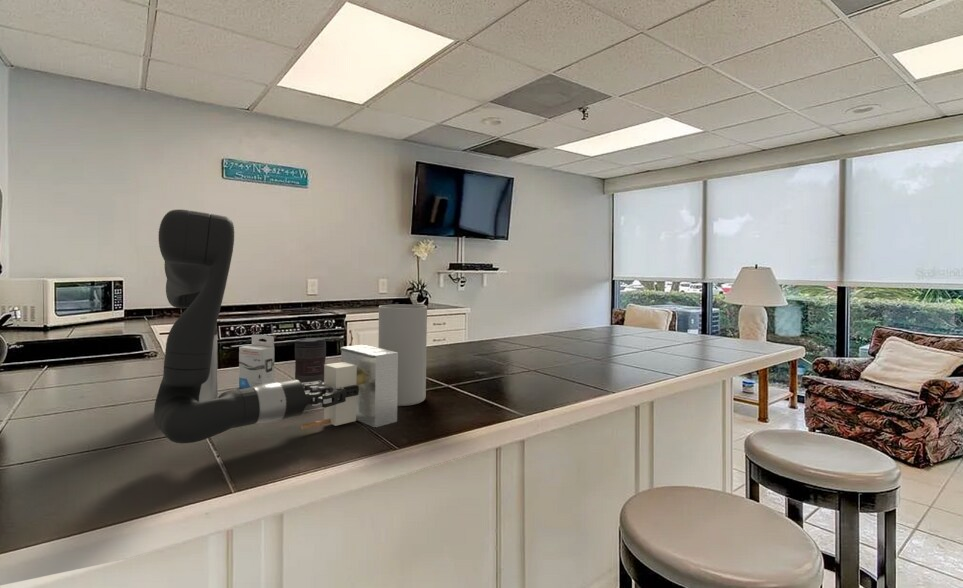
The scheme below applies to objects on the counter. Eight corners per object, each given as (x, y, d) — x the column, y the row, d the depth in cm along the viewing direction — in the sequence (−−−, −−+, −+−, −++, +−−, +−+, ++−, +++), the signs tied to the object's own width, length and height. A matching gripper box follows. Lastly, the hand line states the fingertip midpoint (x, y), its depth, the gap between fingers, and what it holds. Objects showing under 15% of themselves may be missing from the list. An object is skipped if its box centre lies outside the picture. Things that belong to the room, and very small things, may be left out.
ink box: (238, 388, 136) (237, 336, 135) (251, 384, 140) (251, 334, 139) (262, 391, 133) (261, 338, 132) (275, 387, 137) (275, 336, 137)
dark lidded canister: (330, 390, 135) (330, 337, 135) (318, 397, 127) (318, 342, 127) (303, 388, 136) (303, 336, 135) (289, 396, 128) (289, 340, 127)
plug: (307, 432, 98) (307, 372, 98) (295, 426, 102) (296, 368, 101) (392, 411, 114) (393, 359, 113) (380, 407, 117) (381, 356, 117)
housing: (372, 428, 105) (373, 355, 104) (338, 413, 114) (339, 347, 113) (397, 421, 110) (397, 352, 109) (362, 408, 119) (363, 344, 118)
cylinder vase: (368, 399, 127) (369, 305, 125) (405, 391, 136) (407, 303, 135) (397, 410, 118) (398, 309, 117) (435, 400, 127) (436, 307, 126)
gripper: (292, 389, 91) (369, 376, 103) (260, 376, 100) (334, 366, 113) (292, 428, 91) (368, 410, 103) (260, 411, 101) (334, 397, 113)
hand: (350, 387), depth 108 cm, fingers closed on plug, 5 cm apart
